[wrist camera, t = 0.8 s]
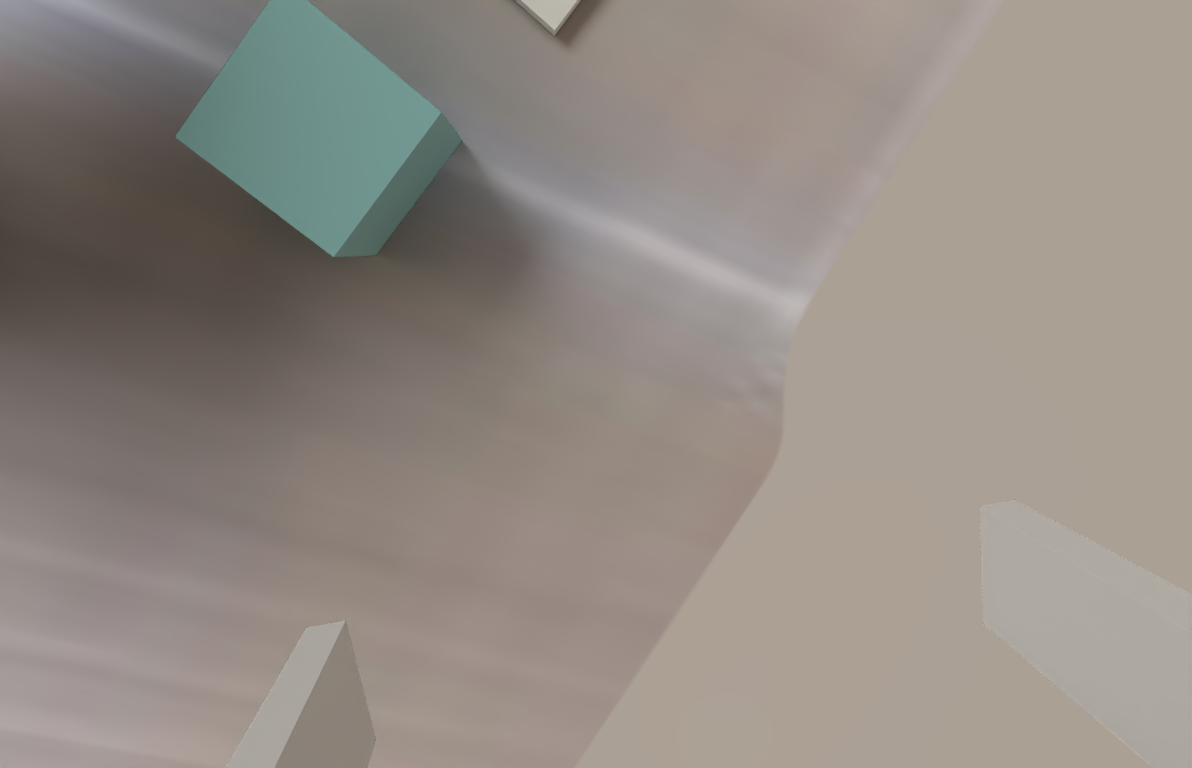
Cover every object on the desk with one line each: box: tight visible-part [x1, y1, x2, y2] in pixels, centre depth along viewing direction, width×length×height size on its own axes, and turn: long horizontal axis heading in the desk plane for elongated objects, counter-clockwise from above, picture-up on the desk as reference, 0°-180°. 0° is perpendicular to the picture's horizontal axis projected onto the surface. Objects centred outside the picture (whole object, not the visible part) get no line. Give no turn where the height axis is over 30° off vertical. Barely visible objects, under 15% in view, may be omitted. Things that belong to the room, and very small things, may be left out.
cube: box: [175, 0, 462, 257], centre depth 29 cm, size 7×7×7 cm
